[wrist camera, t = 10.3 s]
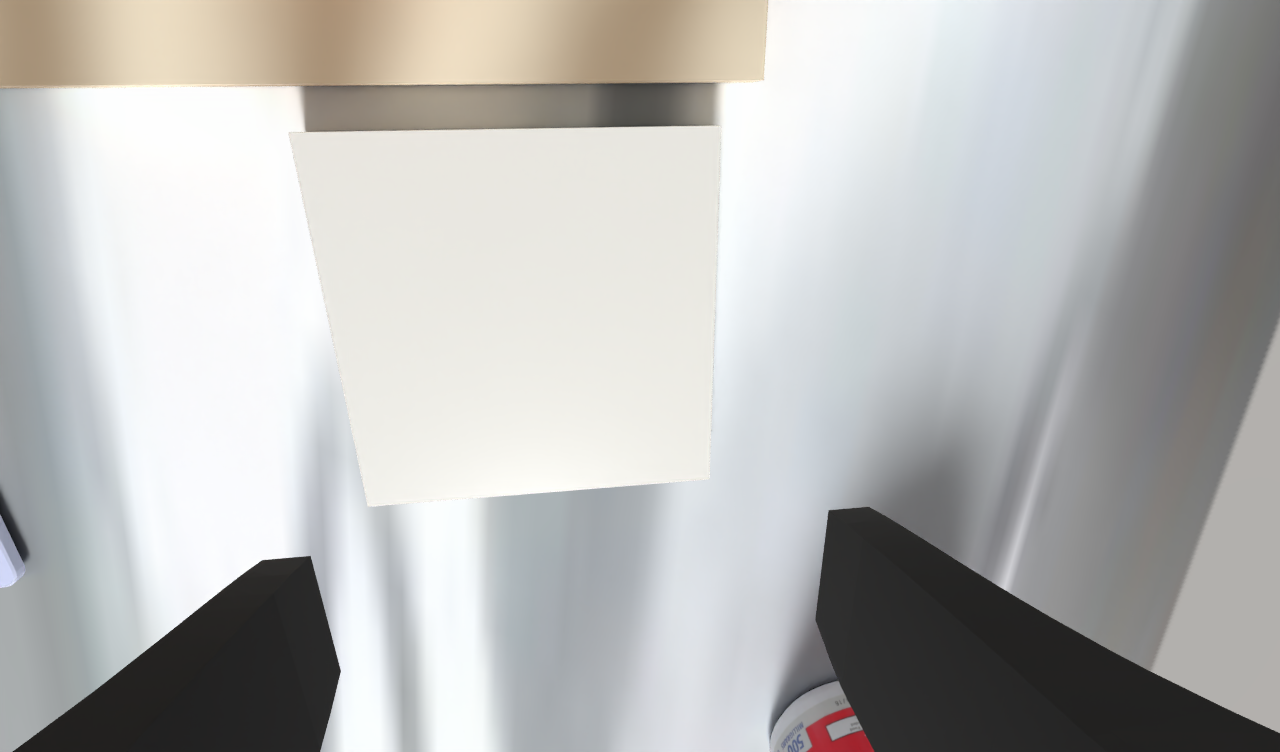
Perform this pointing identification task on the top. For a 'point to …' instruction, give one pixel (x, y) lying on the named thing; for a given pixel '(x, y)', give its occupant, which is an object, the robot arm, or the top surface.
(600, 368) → the white square plate
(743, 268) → the top surface
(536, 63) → the beige flat block
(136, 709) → the robot arm
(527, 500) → the top surface
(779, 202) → the top surface
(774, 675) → the top surface
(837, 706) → the pill bottle
